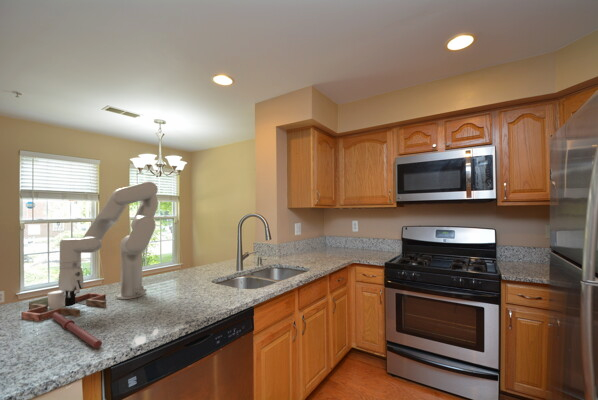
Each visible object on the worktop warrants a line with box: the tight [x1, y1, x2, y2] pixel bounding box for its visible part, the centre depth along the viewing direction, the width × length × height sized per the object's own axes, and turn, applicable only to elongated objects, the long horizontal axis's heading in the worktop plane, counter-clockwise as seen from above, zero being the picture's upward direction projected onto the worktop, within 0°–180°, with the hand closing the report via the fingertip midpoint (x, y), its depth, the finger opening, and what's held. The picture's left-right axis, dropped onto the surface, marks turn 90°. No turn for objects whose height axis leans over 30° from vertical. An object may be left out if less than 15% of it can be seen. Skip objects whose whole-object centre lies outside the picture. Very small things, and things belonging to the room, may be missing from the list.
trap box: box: [20, 292, 107, 322], centre depth 121 cm, size 32×27×4 cm
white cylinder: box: [47, 289, 66, 310], centre depth 123 cm, size 7×7×7 cm
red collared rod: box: [50, 312, 103, 349], centre depth 96 cm, size 45×3×3 cm, turn 56°
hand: (70, 305), depth 121 cm, fingers closed
